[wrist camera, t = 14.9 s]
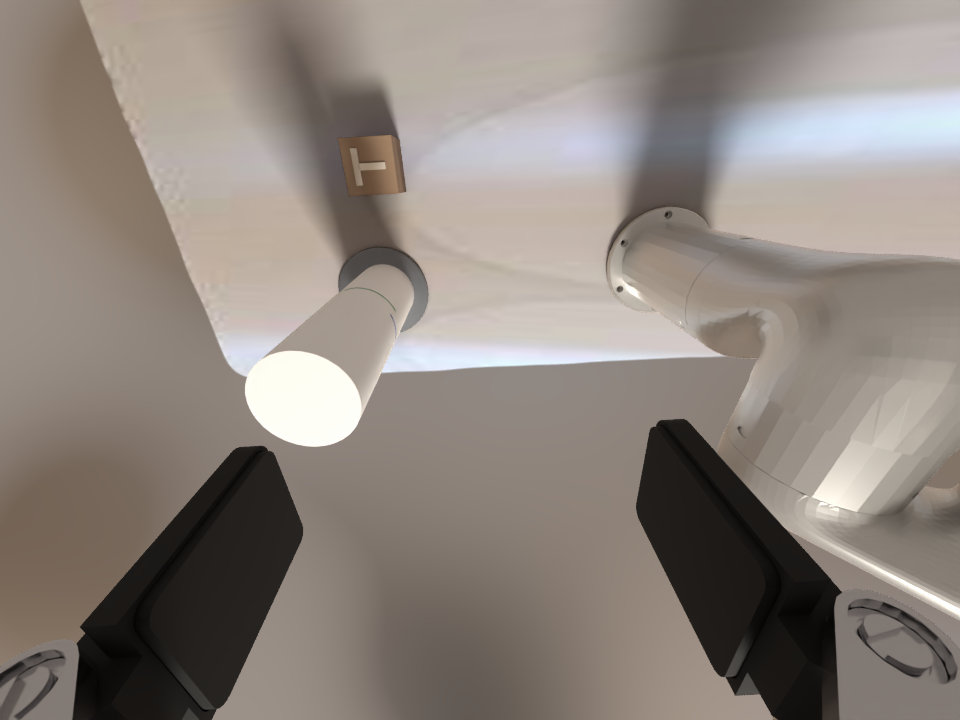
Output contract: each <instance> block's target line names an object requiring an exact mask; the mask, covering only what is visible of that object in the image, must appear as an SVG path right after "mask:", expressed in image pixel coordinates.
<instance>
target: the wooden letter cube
mask: <svg viewBox="0 0 960 720" xmlns="http://www.w3.org/2000/svg"><path fill="white" fill-rule="evenodd" d="M338 142H339V148H340V153H341V158H342V163H343V168H344V173H345V178H346V183H347V189H348V194H349V196H361V195H378V194H395V193H403V192H406V186H405V178H404V170H403V162H402V155H401V147H400V140H399V139H397V138H395V137H393V136H392V135H382V136H366V137H349V138H338Z"/></svg>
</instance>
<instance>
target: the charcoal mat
mask: <svg viewBox="0 0 960 720" xmlns="http://www.w3.org/2000/svg"><path fill="white" fill-rule="evenodd" d="M379 264H386V265H391V266H394V267H396V268H398V269H400V270H401V271H402V272H404V273H405V275H406V276H407V277H408V278H409V280H410V281H411V283H412V286H413V289H414V301H413V304H412V306H411V309H410V311H409V313H408V315H407V318H406V320H405V322H404V324H403V326H402V328H401V331H400V332H403V331H405V330H408V329H409V328H411V327H412V326H414V325H415V324H416V323H417V322H418V321H419V320H420V319H421V317H422V316H423V314H424V312H425V309H426V306H427V302H428V287H427V283H426V280H425V277H424V275H423V273H422V271H421V270H420V268H419V267H418V266H417V265H416V264H415V262H413V261H412V260H411V259H410V258H409V257H407V256H406V255H404V254H403V253H401V252H399V251H396V250H393V249H389V248H383V247H375V248H369V249H366V250H363V251H361V252H359V253H357V254H356V255H354V256H353V257H352V258H351V259H350V260H349V261H348V262H347V263H346V264H345V266H344V268H343V269H342V272H341V274H340V279H339V292H340V291H342V290H343V289H344V288H345V287H346V286H347V285H349V284H350V283H351V282H352V281H353V280H354V279H356V278H357V277H358V276H359V275H360V274H361V273H363V272H364V271H365V270H366V269H368V268H369V267H371V266H374V265H379Z"/></svg>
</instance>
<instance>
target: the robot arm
mask: <svg viewBox="0 0 960 720" xmlns="http://www.w3.org/2000/svg"><path fill="white" fill-rule="evenodd" d="M665 213H667V214H666V216H665ZM622 240H623V243H622V244H620V243H621V241H622ZM607 279H608V283H609V286H610V289H611V290H612V292H613V294H614V295H615V297H616V298H617V299H618V300H619V301H620V302H621V303H623V304H624V305H625V306H627V307H629V308H631V309H633V310H635V311H639V312H645V313H655V312H658V313H660V314H661V315H662V316H664V317H665V318H667V319H668V320H670V321H671V322H672V323H674V324H675V325H677V326H678V327H680V328H681V329H682V330H684V331H685V332H687V333H688V334H689V335H691V336H692V337H694V338H695V339H697V340H698V341H699V342H701V343H702V344H704V345H705V346H706V347H708V348H709V349H711V350H713V351H715V352H717V353H720V354H722V355H725V356H729V357H735V358H743V359H751V358H753V359H754V358H758V359H757V362H756V364H755V366H754V368H753V370H752V372H751V375H750V379H749V381H748V384H747V385H746V388H745V390H744V392H743V394H742V396H741V398H740V400H739V402H738V404H737V406H736V408H735V410H734V412H733V414H732V416H731V418H730V420H729V423H728V425H727V427H726V429H725V431H724V433H723V435H722V438H721V440H720V443H719V446H718V450H717V453H716V452H715V451H714V449H713V448H711V446H710V445H709V444H708V443H707V442H706V441H705V440H704V438H703V437H702V436H701V435H700V434H699V433H698V432H697V431H696V430H695V428H694V427H693V426H692V425H691V424H690V423H689V422H688V421H687V420H685V419H674V420H661V421H659V422H658V423H657V425H656V427H652V428H651V429H650V432H649V438H648V443H647V449H646V454H645V460H644V465H643V470H642V476H641V482H640V487H639V492H638V497H637V503H636V510H637V515H638V518H639V520H640V522H641V525H642V527H643V528H644V530H645V532H646V534H647V537H648V539H649V541H650V542H651V545H652V547H653V549H654V550H655V552H656V554H657V556H658V559H659V560H660V563H661V564H662V566H663V568H664V571H665V572H666V575H667V576H668V578H669V581H670V583H671V584H672V587H673V589H674V591H675V593H676V594H677V597H678V598H679V601H680V603H681V605H682V606H683V609H684V611H685V612H686V615H687V617H688V619H689V621H690V622H691V624H692V626H693V629H694V631H695V632H696V634H697V636H698V638H699V641H700V643H701V645H702V646H703V648H704V650H705V652H706V654H707V657H708V658H709V660H710V663H711V664H712V666H713V668H714V670H715V671H716V672H717V674H718V675H720V676H721V677H726V679H727V680H728V682H729V684H730V686H731V688H732V690H733V692H734V694H735V695H736V696H737V695H754V694H760V695H761V697H762V699H763V700H764V702H765V704H766V706H767V707H768V709H769V711H770V713H771V715H772V716H773V720H960V649H959V648H958V646H957V645H956V644H955V643H954V642H953V641H952V639H951V638H950V637H949V636H948V635H946V634H945V633H944V632H943V631H942V630H941V629H940V628H939V627H937V626H936V625H935V624H934V623H933V622H932V621H930V620H929V619H927V618H925V617H924V616H923V615H921V614H920V613H918V612H917V611H915V610H914V609H912V608H911V607H909V606H907V605H905V604H903V603H901V602H899V601H897V600H895V599H893V598H891V597H888V596H885V595H882V594H879V593H876V592H873V591H868V590H860V589H853V590H847V591H843V592H841V591H840V590H839V588H838V587H837V586H836V585H835V584H834V583H833V582H832V581H831V579H830V578H829V577H828V575H827V574H826V573H825V572H824V571H823V570H822V569H821V568H820V567H819V565H818V564H817V563H816V562H815V561H814V560H813V559H812V558H811V557H810V556H809V554H808V553H807V552H806V551H805V550H804V549H803V548H802V547H801V546H800V544H799V543H798V542H797V541H796V540H795V539H794V538H793V537H792V536H791V535H790V533H788V531H787V530H789V531H791V532H793V533H794V534H796V535H798V536H800V537H802V538H804V539H805V540H807V541H809V542H811V543H813V544H815V545H817V546H819V547H820V548H822V549H824V550H826V551H828V552H830V553H832V554H834V555H836V556H838V557H840V558H841V559H843V560H845V561H847V562H849V563H851V564H853V565H855V566H857V567H859V568H861V569H862V570H865V571H866V572H868V573H870V574H872V575H874V576H876V577H878V578H880V579H882V580H883V581H885V582H887V583H889V584H891V585H893V586H895V587H897V588H899V589H900V590H902V591H904V592H906V593H908V594H910V595H912V596H914V597H916V598H918V599H920V600H922V601H923V602H925V603H927V604H929V605H931V606H933V607H935V608H937V609H939V610H941V611H943V612H944V613H946V614H948V615H950V616H952V617H954V618H956V619H958V620H960V483H959V484H958V485H957V486H955V487H954V488H952V489H939V488H933V487H927V486H925V485H926V484H927V483H928V481H929V480H930V479H931V478H932V476H933V475H934V474H935V473H936V472H937V471H938V469H939V468H940V467H941V466H942V465H943V463H944V462H945V461H946V460H947V459H948V457H949V456H950V455H953V454H954V453H956V451H958V449H959V448H960V260H958V259H951V258H943V257H933V256H922V255H901V254H866V253H846V252H833V251H822V250H816V249H809V248H803V247H796V246H791V245H786V244H781V243H776V242H771V241H765V240H761V239H756V238H751V237H746V236H741V235H736V234H732V233H727V232H722V231H717V230H712V229H710V228H709V226H708V225H707V223H706V222H705V221H704V219H703V218H701V217H700V216H699V215H698V214H696V213H695V212H692V211H690V210H688V209H684V208H679V207H661V208H656V209H653V210H650V211H647V212H645V213H644V214H642V215H640V216H638V217H637V218H635V219H634V220H633V221H631V222H630V223H629V224H628V225H627V226H626V227H625V228H624V229H623V230H622V231H621V232H620V234H619V235H618V237H617V238H616V240H615V241H614V244H613V246H612V248H611V250H610V253H609V257H608V261H607ZM618 286H619V288H618V289H616V288H617V287H618ZM786 529H787V530H786ZM302 536H303V526H302V523H301V520H300V518H299V515H298V513H297V510H296V508H295V505H294V503H293V500H292V498H291V495H290V492H289V490H288V487H287V485H286V482H285V480H284V477H283V475H282V472H281V470H280V467H279V465H278V462H277V460H276V457H275V455H274V453H273V452H271V451H268V450H267V448H266V447H264V446H250V447H239V448H236V449H235V450H233V451H232V453H231V454H230V455H229V456H228V457H227V458H226V459H225V460H224V462H223V463H222V464H221V465H220V466H219V467H218V469H217V470H216V471H215V472H214V473H213V474H212V476H211V477H210V478H209V479H208V480H207V481H206V482H205V483H204V485H203V486H202V487H201V488H200V489H199V490H198V492H197V493H196V494H195V495H194V496H193V497H192V498H191V500H190V501H189V502H188V503H187V504H186V506H185V507H184V508H183V509H182V510H181V511H180V512H179V513H178V515H177V516H176V517H175V518H174V519H173V520H172V521H171V523H170V524H169V525H168V526H167V527H166V528H165V530H164V531H163V532H162V533H161V534H160V535H159V536H158V538H157V539H156V540H155V541H154V542H153V543H152V544H151V546H150V547H149V548H148V549H147V550H146V551H145V553H144V554H143V555H142V556H141V557H140V558H139V560H138V561H137V562H136V563H135V564H134V566H132V568H131V569H130V570H129V571H128V572H127V573H126V574H125V576H124V577H123V578H122V579H121V580H120V581H119V582H118V584H117V585H116V586H115V587H114V588H113V589H112V590H111V592H110V593H109V594H108V595H107V596H106V598H105V599H104V600H103V601H102V602H101V603H100V604H99V606H98V607H97V608H96V609H95V610H94V611H93V612H92V614H91V615H90V616H89V617H88V618H87V619H86V620H85V622H84V623H83V624H82V625H81V626H80V628H81V629H82V630H83V631H84V632H85V635H84V636H83V637H82V638H81V639H80V640H79V642H78V643H77V644H75V643H74V642H72V641H71V640H62V639H58V640H54V641H50V642H46V643H42V644H40V645H38V646H35V647H33V648H31V649H29V650H27V651H25V652H22V653H21V654H19V655H17V656H16V657H14V658H13V659H11V660H9V661H8V662H6V663H5V664H3V665H1V666H0V720H212V718H213V716H214V714H215V712H216V709H218V708H220V707H221V706H223V705H224V703H225V702H226V701H227V699H228V697H229V695H230V694H231V691H232V689H233V687H234V685H235V683H236V680H237V678H238V676H239V674H240V672H241V670H242V668H243V665H244V663H245V661H246V659H247V657H248V655H249V653H250V650H251V648H252V646H253V644H254V642H255V640H256V637H257V635H258V633H259V630H260V629H261V627H262V625H263V622H264V620H265V618H266V616H267V614H268V611H269V609H270V607H271V605H272V603H273V601H274V598H275V596H276V594H277V592H278V590H279V588H280V585H281V584H282V581H283V579H284V577H285V575H286V572H287V570H288V568H289V566H290V564H291V562H292V560H293V558H294V555H295V553H296V551H297V549H298V547H299V544H300V543H301V540H302Z"/></svg>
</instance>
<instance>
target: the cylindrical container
mask: <svg viewBox="0 0 960 720" xmlns="http://www.w3.org/2000/svg"><path fill="white" fill-rule="evenodd" d="M413 301H414V289H413V286H412V283H411V281H410V280H409V278H408V277H407V276H406V275H405V273H404V272H402V271H401V270H400V269H398V268H396V267H394V266H391V265H386V264H379V265H374V266H371V267H369V268H368V269H366V270H365V271H364V272H363V273H361V274H360V275H359V276H358V277H357V278H356V279H354V280H353V281H352V282H351V283H350V284H349V285H347V286H346V287H345V288H344V289H343V290H342V291H340V292H339V293H338V294H337V295H336V296H335V297H333V298H332V299H331V300H330V301H329V302H327V303H326V304H325V305H324V306H323V307H322V308H320V309H319V310H318V311H317V312H316V313H315V314H313V315H312V316H311V317H310V318H309V319H308V320H306V321H305V322H304V323H303V324H302V325H301V326H299V327H298V328H297V329H296V330H295V331H294V332H292V333H291V334H290V335H289V336H288V337H287V338H285V339H284V340H283V341H282V342H281V343H280V344H279V345H277V346H276V347H275V348H274V349H273V350H272V351H270V352H269V353H268V354H267V355H266V356H265V357H263V358H262V359H261V360H260V361H259V362H258V363H257V364H256V365H255V366H253V368H252V369H251V371H250V373H249V374H248V377H247V380H246V384H245V395H246V399H247V403H248V406H249V408H250V410H251V412H252V414H253V415H254V417H255V418H256V419H257V420H258V422H259V423H260V424H262V426H263V427H264V428H265V429H267V430H268V431H270V432H271V433H272V434H274V435H276V436H278V437H279V438H281V439H283V440H286V441H288V442H291V443H294V444H298V445H304V446H316V447H317V446H325V445H330V444H333V443H336V442H338V441H340V440H342V439H344V438H345V437H347V436H348V435H349V434H350V433H351V432H352V431H353V430H354V429H355V427H356V426H357V423H358V422H359V419H360V417H361V415H362V413H363V411H364V409H365V406H366V404H367V402H368V400H369V398H370V396H371V394H372V392H373V389H374V387H375V385H376V383H377V381H378V378H379V376H380V374H381V372H382V370H383V368H384V365H385V363H386V361H387V359H388V357H389V354H390V352H391V350H392V348H393V346H394V343H395V341H396V339H397V337H398V335H399V333H400V331H401V328H402V326H403V324H404V322H405V320H406V318H407V315H408V313H409V311H410V309H411V306H412V304H413Z"/></svg>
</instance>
